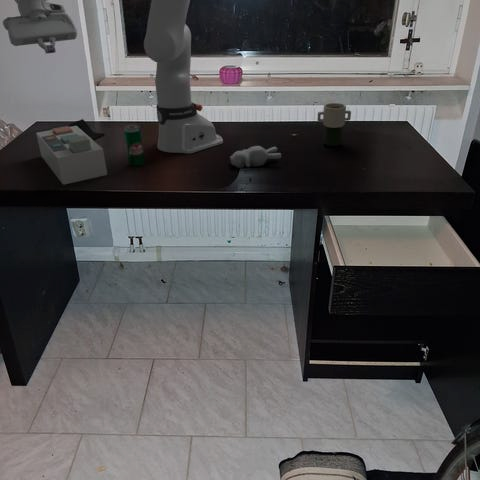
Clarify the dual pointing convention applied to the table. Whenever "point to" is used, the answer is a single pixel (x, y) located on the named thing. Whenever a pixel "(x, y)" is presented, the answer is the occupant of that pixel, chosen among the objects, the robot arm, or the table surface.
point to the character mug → (333, 122)
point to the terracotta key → (62, 130)
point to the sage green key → (79, 144)
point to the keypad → (71, 157)
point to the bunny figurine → (253, 156)
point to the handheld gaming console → (86, 129)
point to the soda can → (134, 145)
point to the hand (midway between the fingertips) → (50, 51)
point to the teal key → (64, 138)
